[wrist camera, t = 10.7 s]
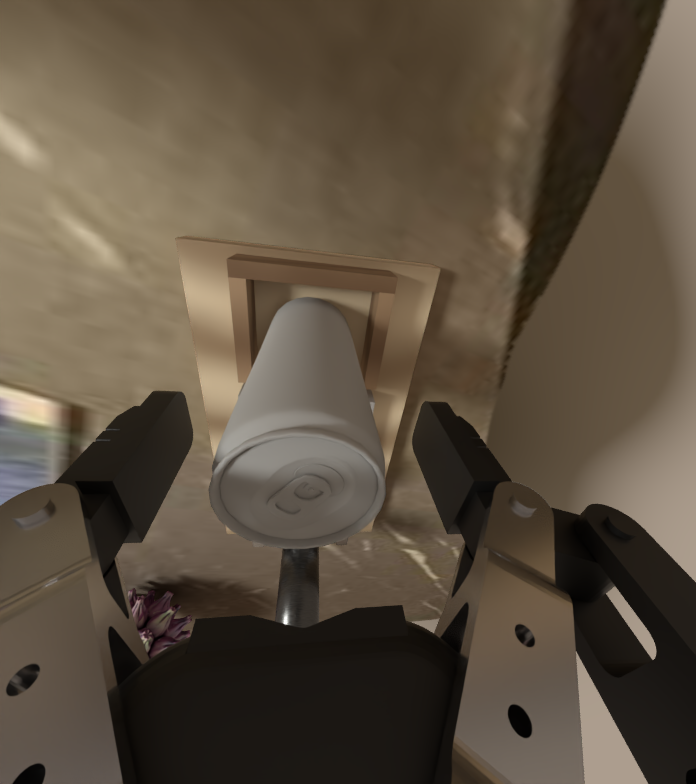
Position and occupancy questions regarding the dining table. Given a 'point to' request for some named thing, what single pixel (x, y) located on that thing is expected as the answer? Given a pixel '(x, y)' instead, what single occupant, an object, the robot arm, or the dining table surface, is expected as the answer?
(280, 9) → the dining table surface
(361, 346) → the wooden tray
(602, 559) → the robot arm
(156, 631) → the flower
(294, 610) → the press block
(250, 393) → the beverage can
